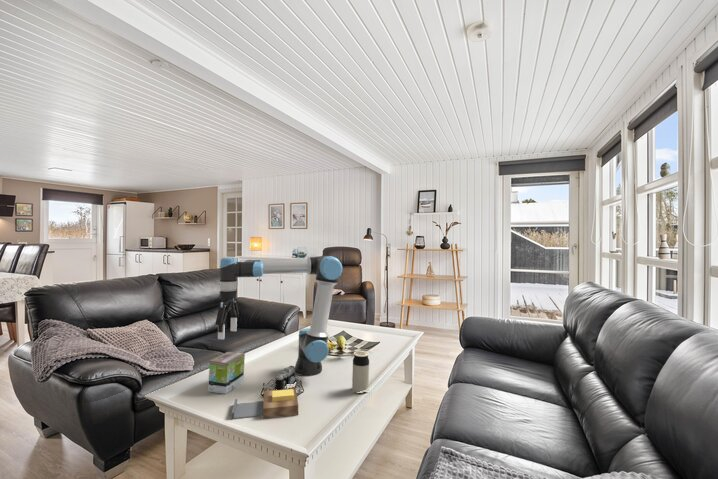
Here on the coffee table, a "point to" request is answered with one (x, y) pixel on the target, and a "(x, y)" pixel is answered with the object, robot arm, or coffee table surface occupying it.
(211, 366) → the tea box
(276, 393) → the yellow sticky note pad
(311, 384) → the coffee table surface
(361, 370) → the travel mug
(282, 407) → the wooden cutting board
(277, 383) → the camera
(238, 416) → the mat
